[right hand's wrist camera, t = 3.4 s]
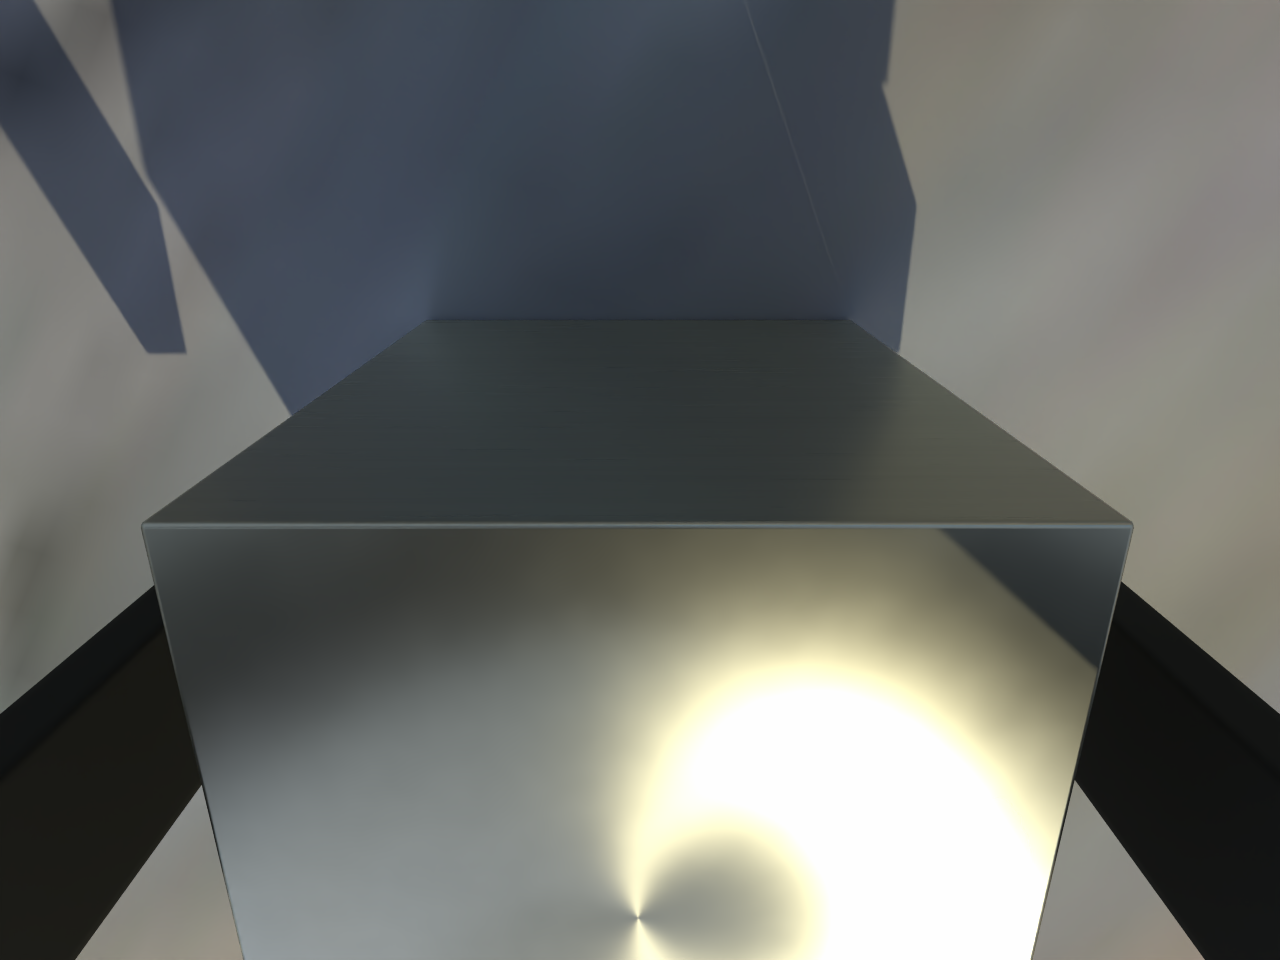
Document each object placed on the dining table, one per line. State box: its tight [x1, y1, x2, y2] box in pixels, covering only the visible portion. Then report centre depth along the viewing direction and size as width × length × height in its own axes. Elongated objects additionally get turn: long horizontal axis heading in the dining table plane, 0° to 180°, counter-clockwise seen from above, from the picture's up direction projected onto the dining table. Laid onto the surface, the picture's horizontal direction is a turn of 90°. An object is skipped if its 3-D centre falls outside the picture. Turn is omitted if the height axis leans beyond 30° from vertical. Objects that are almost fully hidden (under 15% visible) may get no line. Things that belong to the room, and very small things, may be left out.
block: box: [141, 320, 1134, 960], centre depth 12 cm, size 8×8×9 cm
